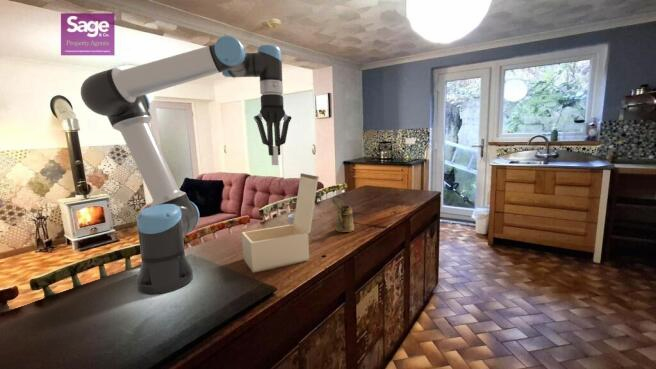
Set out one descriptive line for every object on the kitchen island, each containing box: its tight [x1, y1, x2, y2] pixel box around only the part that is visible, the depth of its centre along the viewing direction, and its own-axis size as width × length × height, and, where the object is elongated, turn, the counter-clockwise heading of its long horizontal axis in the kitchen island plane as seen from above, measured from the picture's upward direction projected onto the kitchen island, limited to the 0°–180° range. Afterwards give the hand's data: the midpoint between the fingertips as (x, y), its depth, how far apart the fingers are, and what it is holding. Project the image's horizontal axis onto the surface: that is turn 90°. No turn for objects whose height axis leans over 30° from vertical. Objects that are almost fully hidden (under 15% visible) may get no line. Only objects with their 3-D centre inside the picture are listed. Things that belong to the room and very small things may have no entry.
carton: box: [241, 224, 310, 274], centre depth 110 cm, size 20×14×10 cm
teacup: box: [287, 212, 303, 230], centre depth 147 cm, size 14×11×8 cm
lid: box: [294, 172, 319, 234], centre depth 114 cm, size 20×14×1 cm
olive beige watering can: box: [331, 195, 355, 233], centre depth 142 cm, size 9×14×18 cm, turn 150°
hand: (275, 164), depth 107 cm, fingers closed
